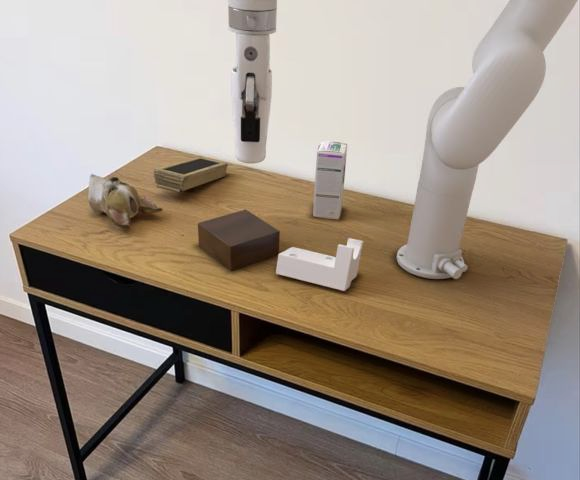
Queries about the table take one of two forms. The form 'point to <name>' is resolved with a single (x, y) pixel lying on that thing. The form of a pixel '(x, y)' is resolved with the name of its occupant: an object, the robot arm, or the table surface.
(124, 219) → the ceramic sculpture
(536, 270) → the table surface
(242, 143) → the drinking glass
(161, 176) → the box
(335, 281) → the bracket
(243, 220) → the walnut block
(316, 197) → the syrup box
